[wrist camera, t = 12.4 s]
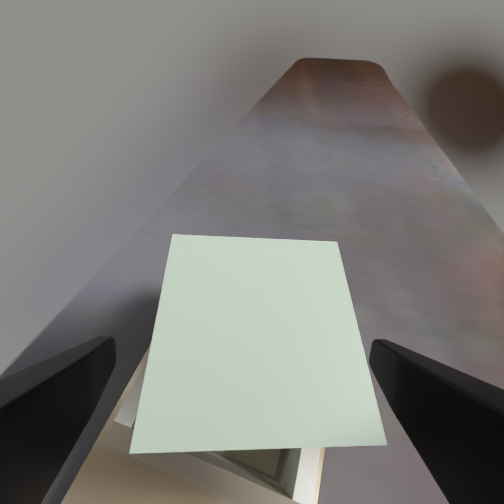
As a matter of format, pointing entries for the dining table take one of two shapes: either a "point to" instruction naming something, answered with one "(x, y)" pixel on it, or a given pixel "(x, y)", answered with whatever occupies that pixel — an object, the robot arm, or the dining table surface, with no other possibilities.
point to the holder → (189, 468)
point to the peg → (255, 351)
